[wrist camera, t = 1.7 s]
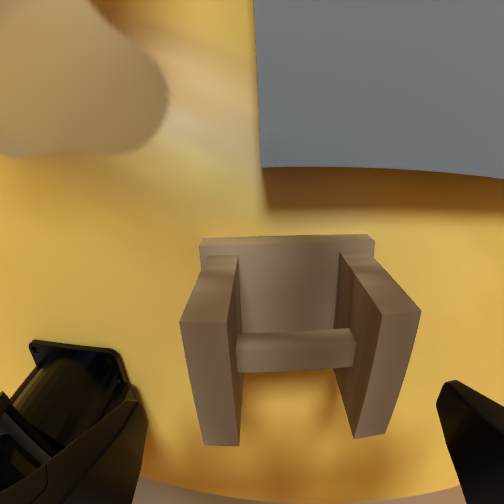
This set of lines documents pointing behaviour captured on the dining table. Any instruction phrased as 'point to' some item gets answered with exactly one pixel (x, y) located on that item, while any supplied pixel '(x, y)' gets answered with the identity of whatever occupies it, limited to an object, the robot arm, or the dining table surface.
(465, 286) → the dining table surface
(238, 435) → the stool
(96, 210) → the dining table surface
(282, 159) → the slab
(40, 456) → the robot arm
